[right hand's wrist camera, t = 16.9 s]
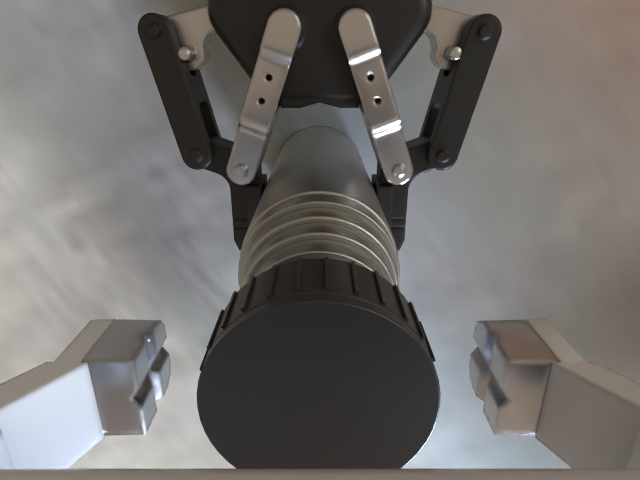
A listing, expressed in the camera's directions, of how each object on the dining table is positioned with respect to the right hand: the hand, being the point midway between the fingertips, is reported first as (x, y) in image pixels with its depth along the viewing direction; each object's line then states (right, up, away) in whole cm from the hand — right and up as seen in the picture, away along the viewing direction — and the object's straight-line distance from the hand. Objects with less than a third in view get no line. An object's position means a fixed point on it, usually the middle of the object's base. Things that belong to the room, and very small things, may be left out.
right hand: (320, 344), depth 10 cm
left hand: (0, +2, +11) cm, 11 cm away
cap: (0, -1, -2) cm, 2 cm away
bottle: (0, +7, +16) cm, 17 cm away
